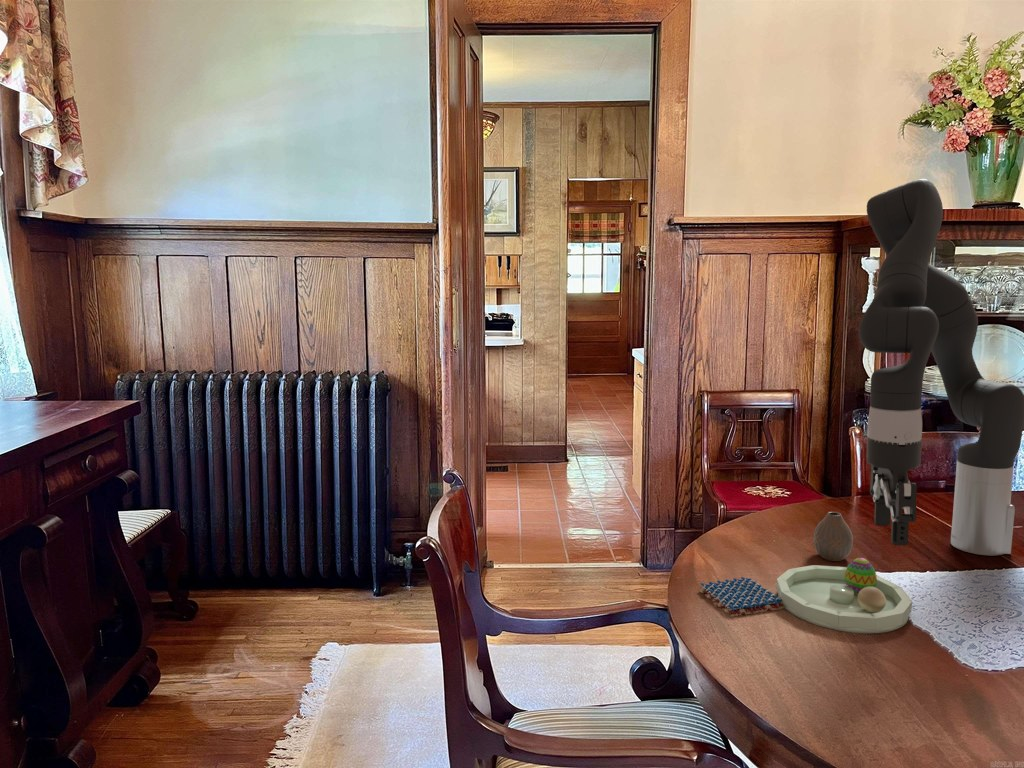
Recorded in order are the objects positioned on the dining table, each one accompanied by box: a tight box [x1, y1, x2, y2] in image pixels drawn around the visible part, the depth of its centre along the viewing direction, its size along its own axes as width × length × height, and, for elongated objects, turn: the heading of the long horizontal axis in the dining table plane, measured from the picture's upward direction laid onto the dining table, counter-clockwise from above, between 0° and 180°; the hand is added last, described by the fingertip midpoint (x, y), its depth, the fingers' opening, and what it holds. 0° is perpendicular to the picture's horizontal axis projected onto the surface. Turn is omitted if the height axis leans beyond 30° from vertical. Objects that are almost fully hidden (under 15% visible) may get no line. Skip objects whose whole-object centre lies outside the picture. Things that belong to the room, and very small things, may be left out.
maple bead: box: [858, 587, 886, 613], centre depth 114 cm, size 4×4×4 cm
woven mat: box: [699, 576, 785, 617], centre depth 121 cm, size 10×11×2 cm
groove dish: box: [776, 564, 913, 634], centre depth 119 cm, size 20×20×3 cm
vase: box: [813, 511, 854, 562], centre depth 138 cm, size 7×7×9 cm
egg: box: [845, 557, 877, 595], centre depth 121 cm, size 5×5×6 cm
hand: (890, 534), depth 114 cm, fingers open, 8 cm apart
